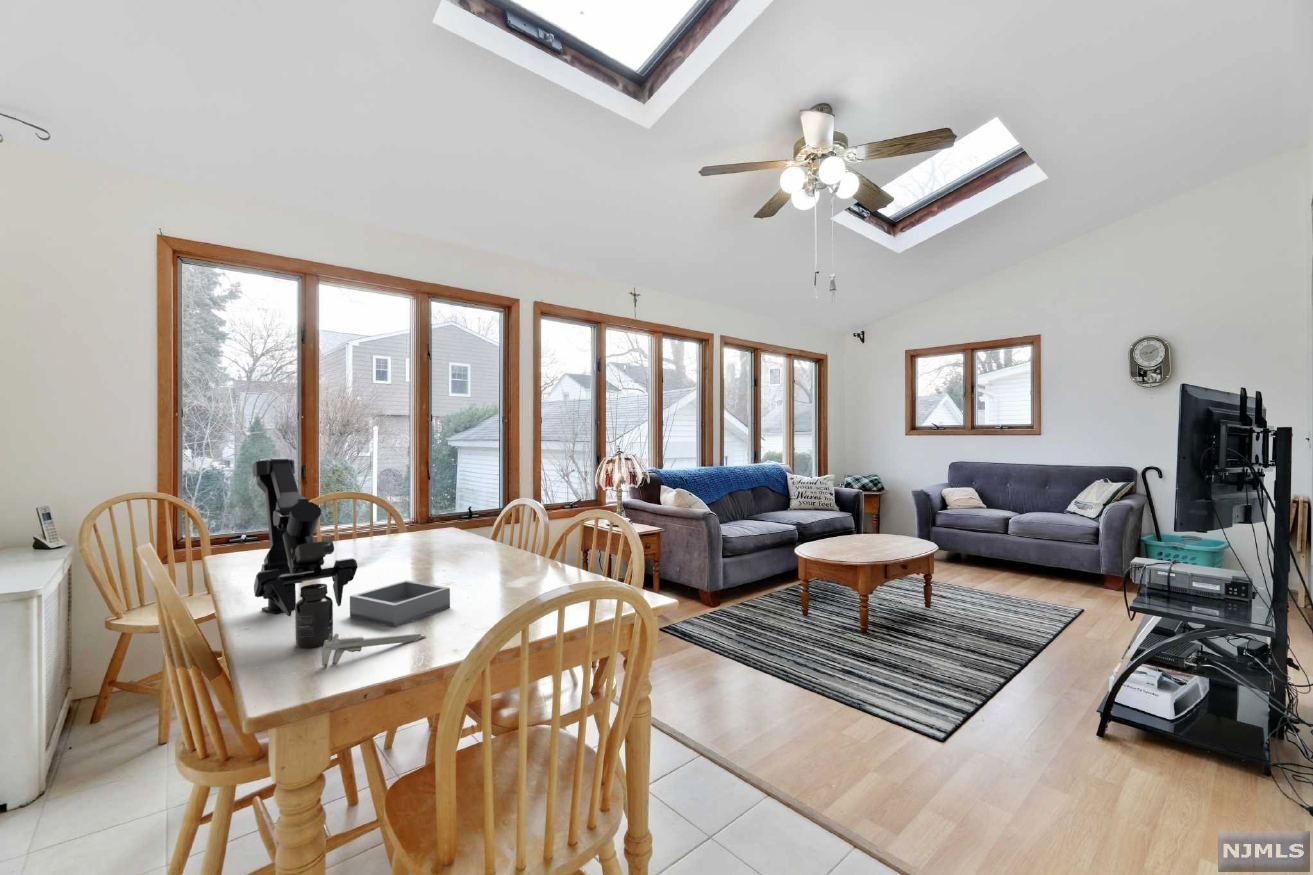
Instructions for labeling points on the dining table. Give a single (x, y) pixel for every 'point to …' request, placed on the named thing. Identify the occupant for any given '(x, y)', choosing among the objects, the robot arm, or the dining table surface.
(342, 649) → the caliper
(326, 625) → the supplement bottle
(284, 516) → the robot arm
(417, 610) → the bin
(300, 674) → the dining table surface
